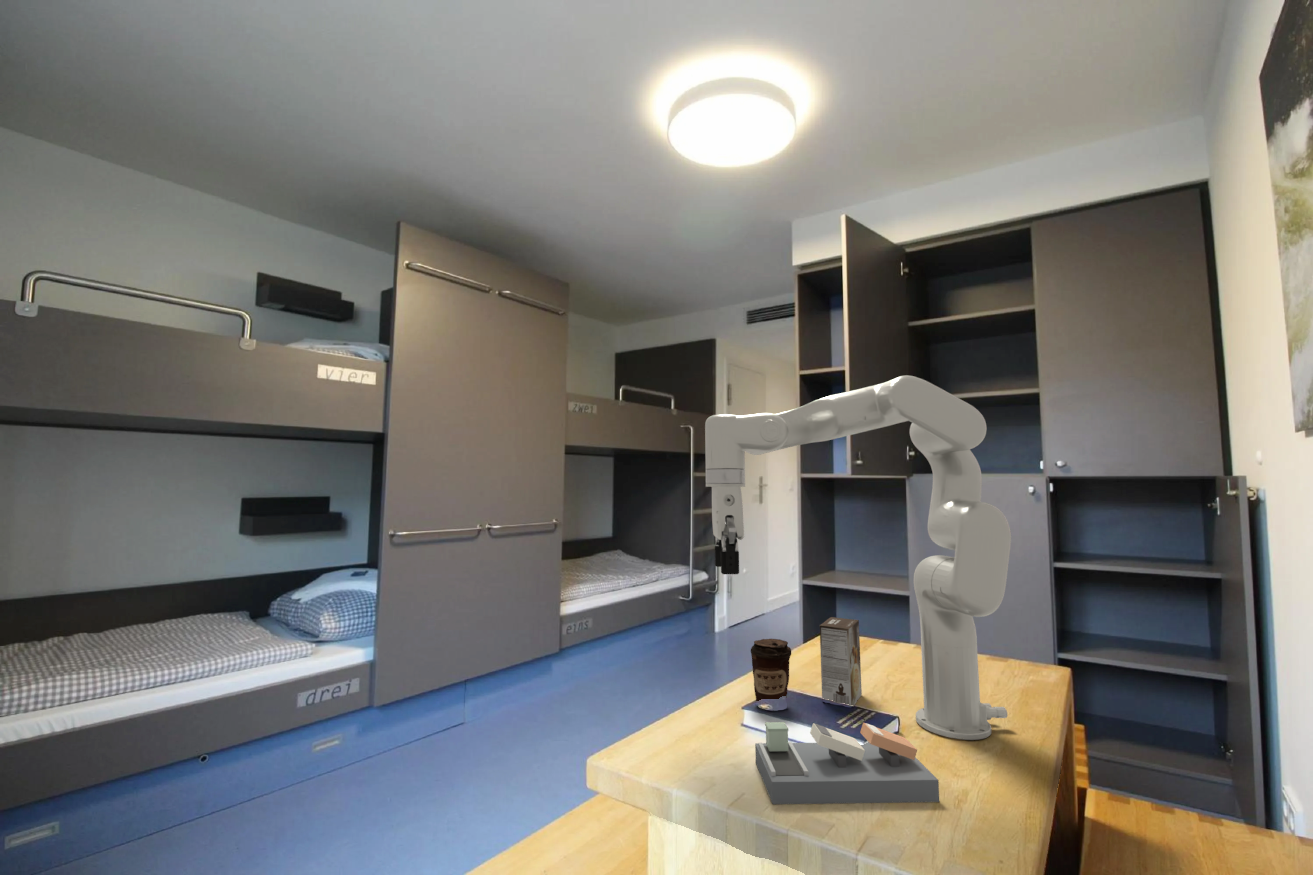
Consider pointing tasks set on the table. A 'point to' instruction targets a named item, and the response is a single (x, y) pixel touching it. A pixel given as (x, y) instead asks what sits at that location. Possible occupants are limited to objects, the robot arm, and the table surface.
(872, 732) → the rocker terracotta
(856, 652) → the coffee box
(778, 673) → the coffee cup
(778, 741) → the green slider block
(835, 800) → the panel
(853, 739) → the rocker cream
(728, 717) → the table surface
